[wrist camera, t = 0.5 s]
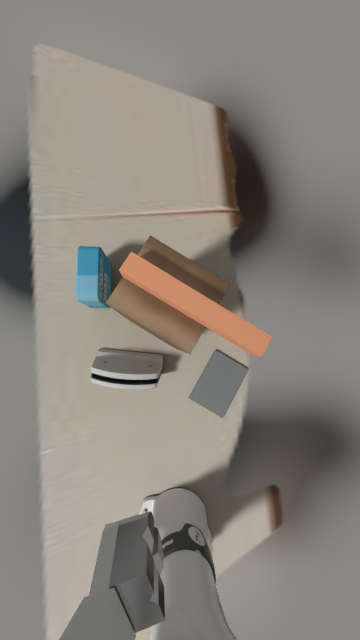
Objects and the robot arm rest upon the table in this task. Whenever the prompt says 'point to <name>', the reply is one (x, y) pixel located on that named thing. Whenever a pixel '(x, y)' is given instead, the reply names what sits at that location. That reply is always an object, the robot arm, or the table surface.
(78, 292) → the data package
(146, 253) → the brown block
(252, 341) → the pin
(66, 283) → the table surface
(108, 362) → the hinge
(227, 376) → the mat
